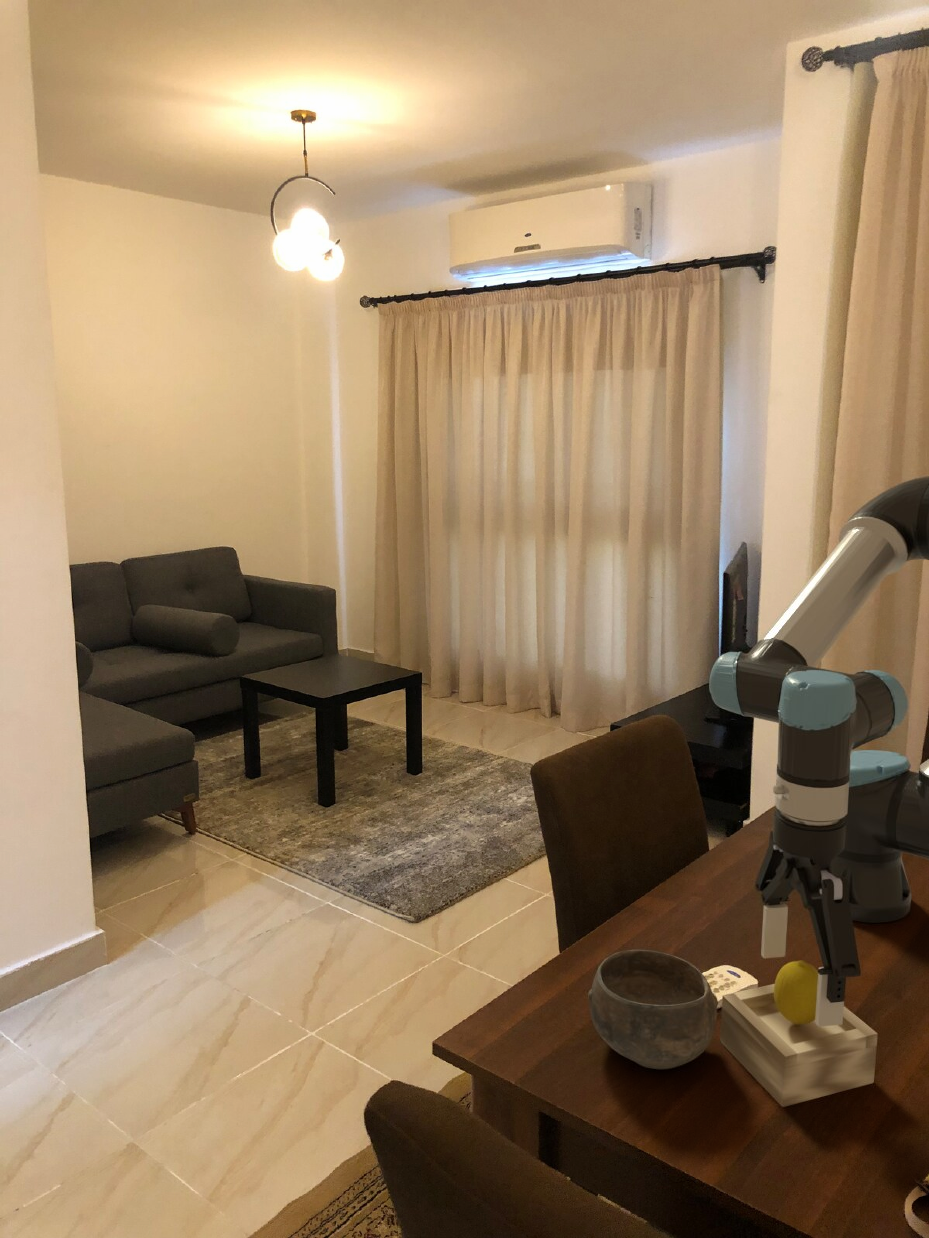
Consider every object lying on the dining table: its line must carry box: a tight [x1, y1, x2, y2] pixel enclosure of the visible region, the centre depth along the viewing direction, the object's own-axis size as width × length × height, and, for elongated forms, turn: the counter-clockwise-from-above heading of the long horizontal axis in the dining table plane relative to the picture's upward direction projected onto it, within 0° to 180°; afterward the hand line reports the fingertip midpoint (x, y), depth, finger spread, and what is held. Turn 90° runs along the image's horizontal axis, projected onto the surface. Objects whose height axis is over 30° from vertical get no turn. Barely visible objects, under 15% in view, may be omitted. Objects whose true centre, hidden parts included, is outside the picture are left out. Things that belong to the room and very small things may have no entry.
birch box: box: [719, 983, 879, 1108], centre depth 112 cm, size 12×12×6 cm
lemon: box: [774, 959, 818, 1025], centre depth 111 cm, size 6×6×8 cm
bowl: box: [587, 949, 719, 1070], centre depth 114 cm, size 14×15×10 cm
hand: (799, 987), depth 111 cm, fingers open, 13 cm apart
